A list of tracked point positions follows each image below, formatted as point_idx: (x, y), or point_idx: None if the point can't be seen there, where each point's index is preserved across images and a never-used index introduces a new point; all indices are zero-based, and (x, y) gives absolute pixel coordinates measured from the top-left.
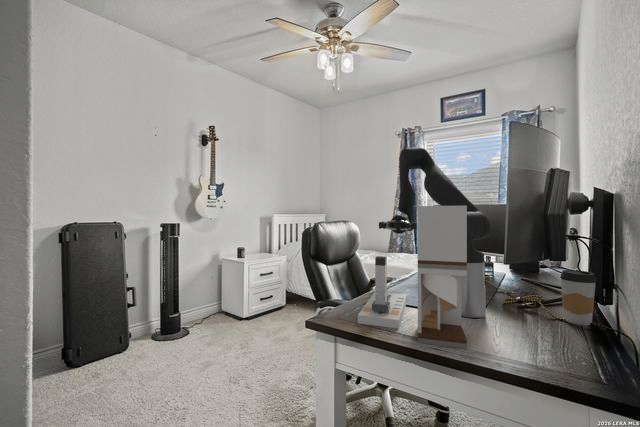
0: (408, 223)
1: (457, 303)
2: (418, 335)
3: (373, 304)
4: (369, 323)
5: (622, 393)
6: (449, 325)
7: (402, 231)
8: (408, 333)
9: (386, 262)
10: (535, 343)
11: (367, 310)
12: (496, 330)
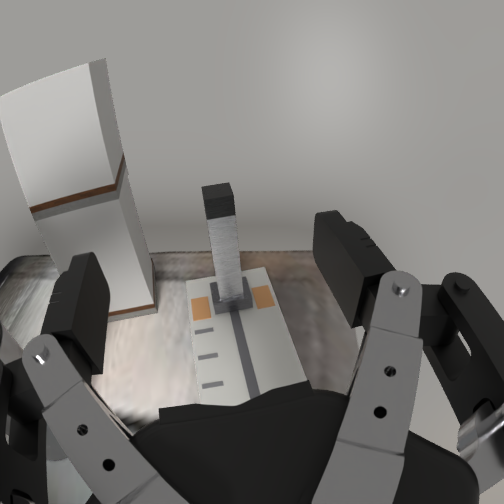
0: (70, 266)
1: None
2: (151, 259)
3: (242, 277)
4: None
5: (8, 266)
6: None
7: None
8: (170, 285)
9: (206, 214)
10: (10, 329)
11: (259, 290)
12: None
